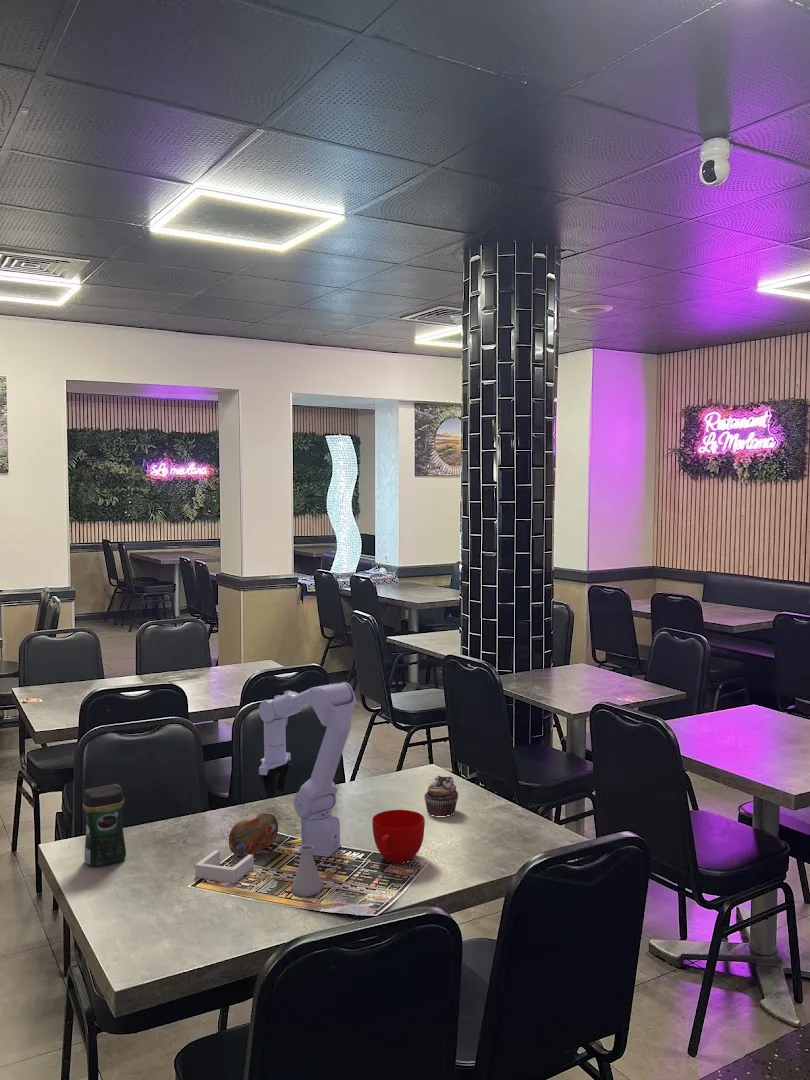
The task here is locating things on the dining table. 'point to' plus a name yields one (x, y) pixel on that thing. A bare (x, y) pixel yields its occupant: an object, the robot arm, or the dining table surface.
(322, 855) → the robot arm
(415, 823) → the ceramic cup
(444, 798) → the cupcake
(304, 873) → the flask
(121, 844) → the coffee jar
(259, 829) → the tin
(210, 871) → the endcap
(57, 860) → the dining table surface
